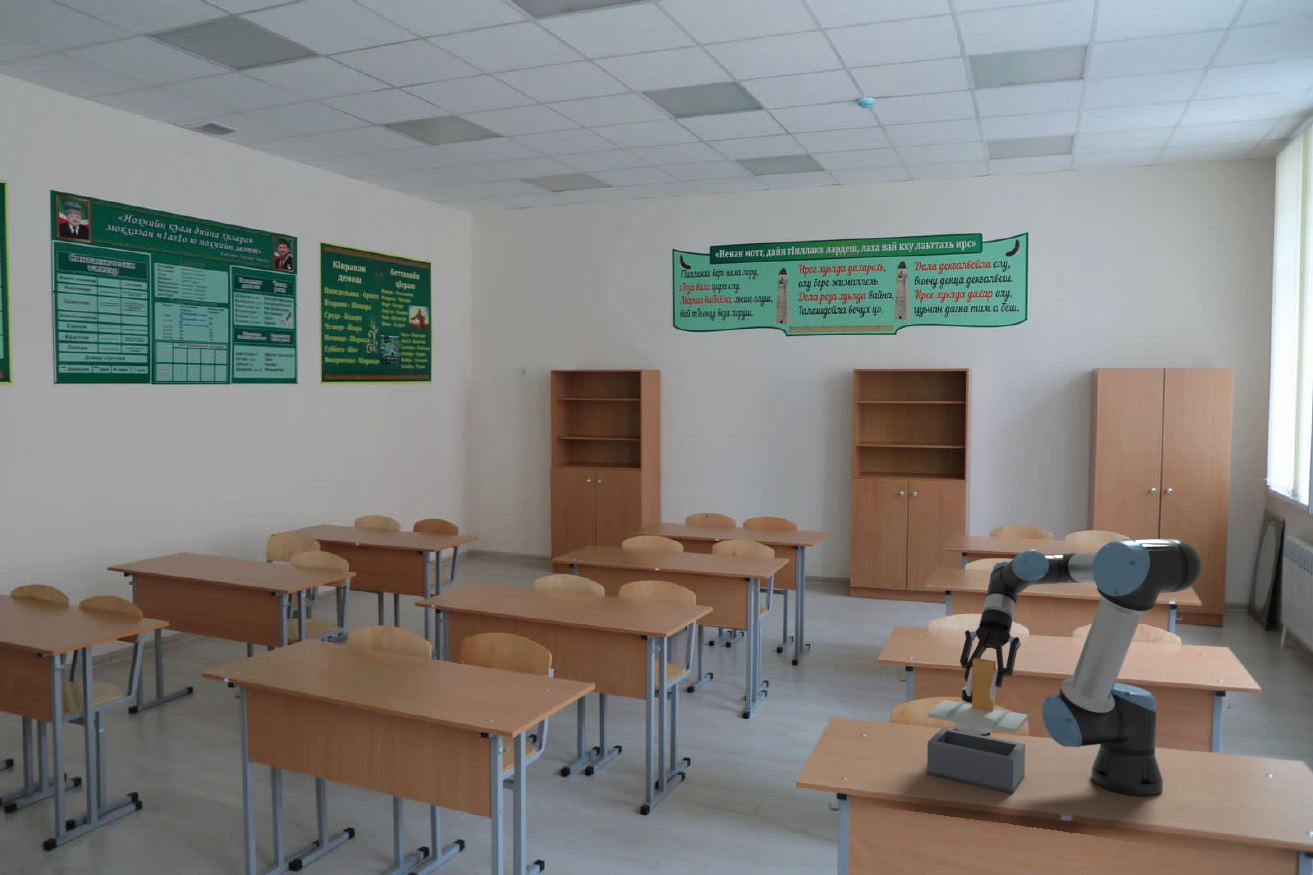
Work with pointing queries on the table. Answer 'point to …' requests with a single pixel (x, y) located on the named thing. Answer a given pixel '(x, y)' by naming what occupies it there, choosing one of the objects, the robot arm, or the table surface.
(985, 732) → the medicine bottle
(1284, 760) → the table surface
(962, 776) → the tub
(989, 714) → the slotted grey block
